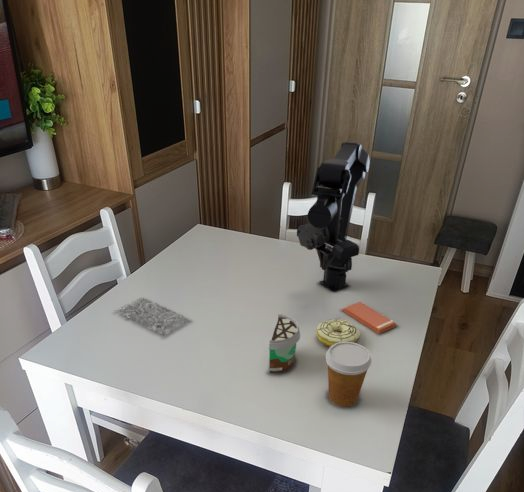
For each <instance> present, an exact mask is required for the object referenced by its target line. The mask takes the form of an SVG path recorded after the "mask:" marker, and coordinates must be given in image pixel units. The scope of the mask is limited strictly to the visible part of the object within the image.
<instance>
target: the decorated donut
mask: <svg viewBox="0 0 524 492" xmlns="http://www.w3.org/2000/svg"><path fill="white" fill-rule="evenodd" d="M316 336H317V339H318V340H319V342H320V343H322V344H323V345H324V346H325V347H328V348H330V347H331V346H332V345H334V344H335V343H339V342H353V343H357V340H358V338H360V332H359V329H358V328H357V326H356V325H355V324H354V323H352V322H350V321H348V320H345V319H340V318H335V319H328V320H325V321H322V322H321V323H319V324H318V326H317V328H316Z"/></svg>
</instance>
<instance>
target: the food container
mask: <svg viewBox="0 0 524 492" xmlns="http://www.w3.org/2000/svg"><path fill="white" fill-rule="evenodd" d="M277 316H278V317H277V322H276V325H275V327H274V331H273V334H272V337H271V339H269V344H268V350H269V374H281V373H285V372H287V371H289V370H290V369H292V367H293V366H294V364H295V356H296V349H297V343H298V342H299V340H300V338H301V331H300V326H299V325H298V323H297V321H296V320H295V319H294V318H292V317H290V316H287V315H285V314H280V313H279V314H278V315H277Z"/></svg>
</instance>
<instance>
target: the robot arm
mask: <svg viewBox="0 0 524 492" xmlns="http://www.w3.org/2000/svg"><path fill="white" fill-rule="evenodd" d="M370 162H371V161H370V154H369V153H368V152H367V150H365V149H364V148H363V147H362V144H361V143H359V142H354V141H353V142H352V141H345V142H342V143H341V146H340V149H338V150H337V153H336V154H335V156H334V157H332V159H325V160H324V161H322V162H320V165H319V166H317V168H316V172H315V176H314V181H313V184H312V189H311V195H313V196H316V197H317V198H316V201H315V202H314V203H313V204H312V205H311V207H310V208H309V210H308V212H307V220H308V223H305V224H301V225H299V226H298V228H297V229H296V237H297V238H298V242H299V244H300V246H301V247H304V248H305V249H307V250H309V251H312V250H314V249H315V251H316V253H317V257H318V259H319V266H320V268H321V270H322V271H323V279H322V280H320V281H319V283H318V284H319V285H322V286H323V287H324V288H326V289H328V290H330V291H331V292H336V291H338V290H341V289H344V288H346V287H349V284H348V283H347V281H346V280H347V273H348V271H351V270H352V268H353V257H356V256H359V255H360V246H359V245H358V243H355V242H353V241H352V240H349V239H348V232H349V228H350V223H351V219H352V213H353V209H354V204H355V199H356V194H357V189H358V187H359V186H360V185H361V184H362V182H363V181H364V180H365V178H366V173H368V172H369V169H370Z"/></svg>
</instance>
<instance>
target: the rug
mask: <svg viewBox="0 0 524 492" xmlns="http://www.w3.org/2000/svg"><path fill="white" fill-rule="evenodd" d="M144 308H146V309H144ZM157 309H158V310H157ZM114 311H116V312H118V313H119V314H121V315H123V316H124V317H126V318H127V319H131V320H133V321H135V323H137V324H139V325H141V326H143V327H146V328H148V329H151V330H152V331H153V332H155V333H160V334H161V336H165V335H168V334H169V333H171V332H173V330H174V329H177V328H179V327H180V326H181V325H183V324H185V323H186V322H188V321H190V318H186V317H185V316H184V315H181V314H178V313H177V312H176V311H173V310H169V309H168V310H167V308H166V307H164V308H163V306H161V304H157V302H156V303H154V302H153V301H152V300H150V299H145V298H144V297H140V298H138V299H137V300H134V301H131V302H129V303H127V304H125V305H124V306H122V307H121V308H118V309H115V310H114ZM138 315H140V316H138ZM161 317H162V318H161ZM181 320H183V322H182V321H181ZM162 330H163V331H162Z"/></svg>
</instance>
